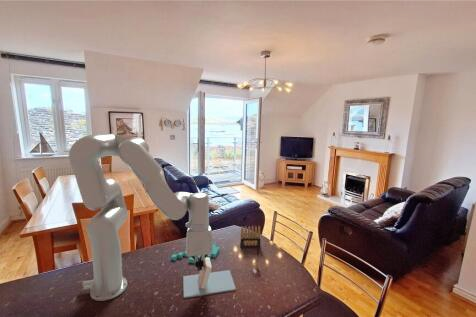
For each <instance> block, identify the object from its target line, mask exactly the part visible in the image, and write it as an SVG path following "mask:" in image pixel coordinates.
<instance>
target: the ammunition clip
mask: <svg viewBox="0 0 476 317" xmlns="http://www.w3.org/2000/svg"><path fill="white" fill-rule="evenodd" d="M240 229H241V230H240V244H239V246H240V249H241V248H242V249H244V248H245V249H246V248H248V249H250V248H254V249H255V248H257V249H258V248H261V225H258V227H257V225H255V226H254V225H251V226H250V225H248V227H247V225H245V227H244V226H243V225H241V228H240Z"/></svg>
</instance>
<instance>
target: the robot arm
mask: <svg viewBox="0 0 476 317" xmlns="http://www.w3.org/2000/svg"><path fill="white" fill-rule="evenodd" d="M71 145H72V146H70V148H69V152H68V160H69V164H70V166H71V170H72V172H73V174H74V176H75V180H76V184H77V187H78V190H79V194H80V196H81V200H82V203H83V205H84V206H85V208H87V209H88V210H89V211H98V210H100V211H98V212H96V213H95V215H93V216H92V217H91V218H90V220H89V222H88V223H87V226H86V231H87V236H88V239H89V242H90V248H91V258H92V268H93V269H92V270H93V279H92V280H91V279H90V280H83V281H82V284H81V285H82V287H83V291H86V290H90V292H89V294H90V298H91V299H92V300H94V301H96V302H100V301H101V302H103V301H109V300H112V299H115V298H116V297H118V296H120V295H121V294H123V293H124V291H125V290H126V289H127V286H128V280H127V279H126V278H125V277H124V276H123V264H122V262H123V260H122V249H121V246H122V245H121V240H120V236H119V235H118V234H119V233H118V230H119V229H120V228H121V226H122V225H123V224H124V223H125V221H126V220H127V217H128V209H127V205H126V202H125V198H124V194H123V190H122V187H121V186H120V184H119V183H118V181H117V180H115V179H112V178H110V177H109V178H108V177H107V178H106V177H105V175H104V170H103V168H102V167H101V165H100V163H99V162H98V160H99V159H101V158H105V157H109V156H113V157H114V156H115V157H119V158H120V159H121V161H122V162H123V163H124V164H125V165H126V166H127V167H128V169H130V171H131V172H132V173H134V175H135V176H136V177H137V178H138V179H139V181H141V182H142V184H143V185H144V188H145V190H146V192H147V194H148V196H149V198H150V199H151V201H152V202H153V204H154V205H155V207H157V209H158V210H159V211H160V212H161V213H162V214H163V215H164V216H165V217H167V218H168V219H170V220H173V221H179V220H181V219H183V217H185V215H186V214H187V211H188V222H186V223H185V226H184V227H185V228H187V230H186V237H185V239H186V240H185V241H186V242H185V251H186V256H185V257H186V258H190V257H192V258H193V259H194V260H195V261H196V263H195V268H196V269H197V272H198V271H199V272H200V270H202V267H204V259H205V258H206V257H207V256H208V255H210V254H213V242H214V241H213V233H212V228H211V226H210V212H209V211H210V205H209V204H210V202H209V201H210V200H209V195H208V194H207V193H204V192H195V193H194V192H193V193H192V192H191V193H190V192H187V191H176V192H173V190H172V189H171V188H170V186H169V185H168V182H167V181H166V177H165V171H164V169H163V167H162V166H161V165H160V164H159V162H158V161H157V160H156V159H155V158H154V157H153V156H152V155H151V154H150V153H149V152H150V147H149V144H148V143H147V141H145V140H144V139H143V138H140V137H135V136H128V135H123V134H122V135H121V134H114V133H95V134H94V133H93V134H89V135H85V136H83V137H81V138H79V139H76V141H75V142H74V143H73V144H71ZM199 255H201V256H200V258H199V257H198V256H199ZM199 260H200V261H199Z"/></svg>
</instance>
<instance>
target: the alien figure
mask: <svg viewBox="0 0 476 317" xmlns="http://www.w3.org/2000/svg"><path fill="white" fill-rule="evenodd" d="M219 252H220V247H219V246H217V244H215V242H214V241H213V254H210V255H208V256H207V257H209V258H210V259H212V258H214V259H215V258H217V255H218V254H219ZM183 256H184V257H186V250H184V252H181V251H179V252H178V253H177V254H176V253H174V254H172V255H171V256H170V260H171V261H177V259H184V257H183ZM200 256H201V255H199V256H198V257H199V258H200ZM199 261H200V260H199ZM188 263H189V264H196V261H195V260H194V259H193V258H192V257H188Z"/></svg>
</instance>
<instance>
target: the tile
mask: <svg viewBox="0 0 476 317" xmlns="http://www.w3.org/2000/svg"><path fill="white" fill-rule="evenodd" d="M211 262H212V261H211V258H209V257H206V258H205V259H204V267H202V270H199V273H198V274H199V276H198V279H199V287H200V288H202V289H206V286H207V282H208V279H209V276H210V273H211V272H212V269H213V267H212V263H211Z"/></svg>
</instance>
